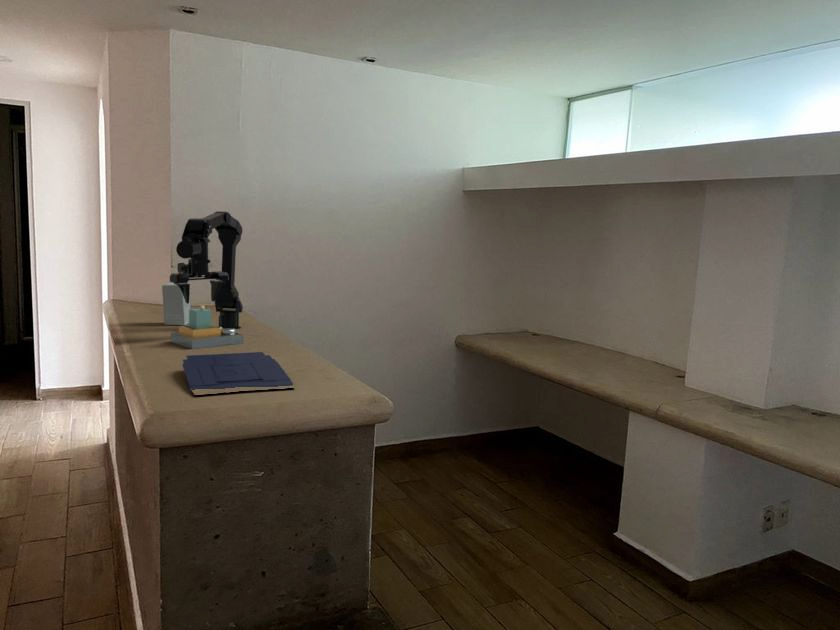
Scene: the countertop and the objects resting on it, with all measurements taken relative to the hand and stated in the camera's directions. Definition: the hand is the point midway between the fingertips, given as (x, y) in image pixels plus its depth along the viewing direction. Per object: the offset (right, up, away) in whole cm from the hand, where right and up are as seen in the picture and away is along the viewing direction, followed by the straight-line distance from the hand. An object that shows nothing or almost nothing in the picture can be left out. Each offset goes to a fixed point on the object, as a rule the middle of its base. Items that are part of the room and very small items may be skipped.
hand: (200, 302), depth 221 cm
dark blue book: (+27, -21, -54) cm, 64 cm away
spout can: (+3, -11, -8) cm, 13 cm away
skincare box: (-19, -8, +29) cm, 35 cm away
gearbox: (+4, -13, -6) cm, 15 cm away
